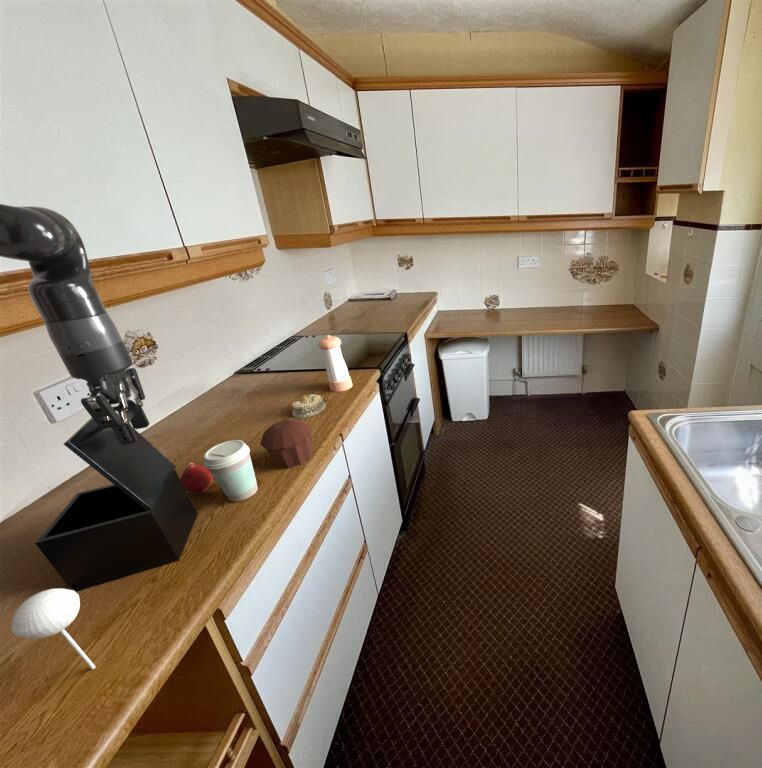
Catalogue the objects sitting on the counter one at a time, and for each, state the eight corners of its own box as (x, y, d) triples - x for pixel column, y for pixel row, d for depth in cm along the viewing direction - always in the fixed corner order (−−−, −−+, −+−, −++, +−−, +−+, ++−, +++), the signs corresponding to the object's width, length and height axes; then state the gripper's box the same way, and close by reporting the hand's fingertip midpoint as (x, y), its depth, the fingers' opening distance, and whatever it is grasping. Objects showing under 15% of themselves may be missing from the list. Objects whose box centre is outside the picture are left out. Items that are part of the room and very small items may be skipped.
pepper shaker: (356, 386, 142) (343, 334, 134) (336, 394, 138) (321, 340, 130) (346, 381, 147) (333, 330, 139) (327, 388, 142) (312, 336, 134)
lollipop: (77, 698, 55) (12, 627, 49) (55, 682, 57) (-11, 612, 51) (130, 654, 60) (77, 584, 54) (107, 641, 62) (54, 572, 56)
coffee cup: (219, 492, 93) (198, 449, 88) (260, 476, 98) (243, 434, 93) (224, 512, 87) (202, 466, 82) (268, 493, 92) (250, 449, 87)
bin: (72, 592, 71) (34, 543, 66) (107, 538, 82) (77, 492, 77) (178, 560, 76) (151, 512, 71) (197, 513, 87) (175, 469, 82)
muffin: (323, 442, 110) (313, 410, 106) (312, 467, 100) (300, 432, 96) (277, 448, 109) (265, 416, 105) (261, 474, 99) (247, 439, 95)
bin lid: (62, 444, 62) (97, 427, 63) (103, 406, 74) (132, 393, 75) (147, 511, 71) (177, 496, 72) (172, 468, 82) (197, 455, 83)
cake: (333, 407, 130) (330, 392, 128) (307, 422, 122) (303, 407, 120) (312, 399, 134) (308, 385, 132) (285, 414, 126) (280, 399, 124)
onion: (203, 501, 91) (189, 472, 88) (181, 499, 92) (166, 471, 88) (223, 484, 96) (210, 456, 93) (202, 483, 97) (189, 455, 94)
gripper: (82, 335, 69) (126, 421, 76) (31, 362, 57) (89, 462, 64) (136, 328, 72) (174, 412, 79) (99, 353, 60) (147, 450, 67)
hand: (136, 434), depth 71 cm, fingers closed on bin lid, 5 cm apart
